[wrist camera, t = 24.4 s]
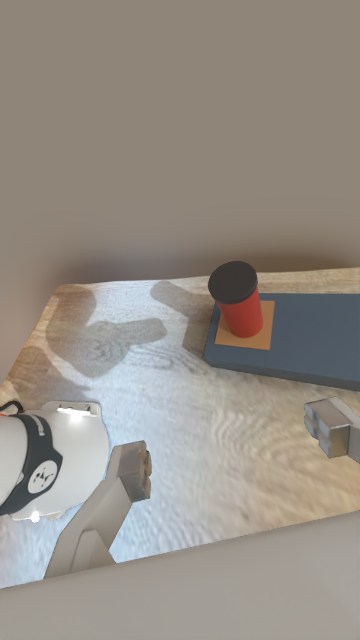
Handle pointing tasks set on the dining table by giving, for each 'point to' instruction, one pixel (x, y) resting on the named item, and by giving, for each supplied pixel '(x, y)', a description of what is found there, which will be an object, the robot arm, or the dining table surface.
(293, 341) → the platform
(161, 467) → the dining table surface
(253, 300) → the red canister
